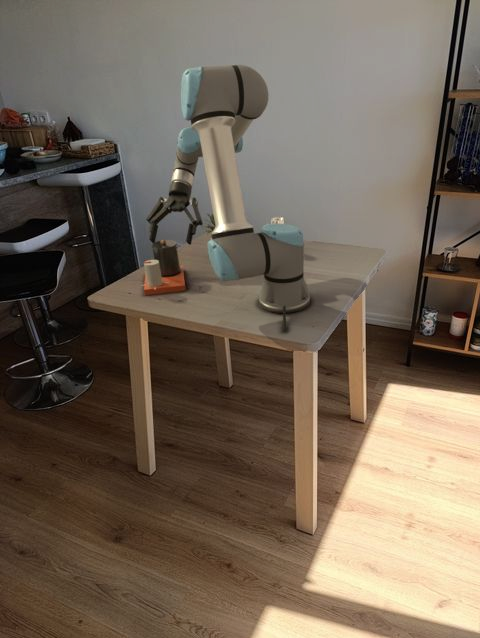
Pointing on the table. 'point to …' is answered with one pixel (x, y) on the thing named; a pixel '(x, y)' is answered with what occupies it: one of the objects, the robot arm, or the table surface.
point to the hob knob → (153, 273)
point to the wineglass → (277, 220)
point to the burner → (174, 274)
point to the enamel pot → (166, 256)
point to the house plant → (210, 224)
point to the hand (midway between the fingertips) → (170, 242)
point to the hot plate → (167, 285)
